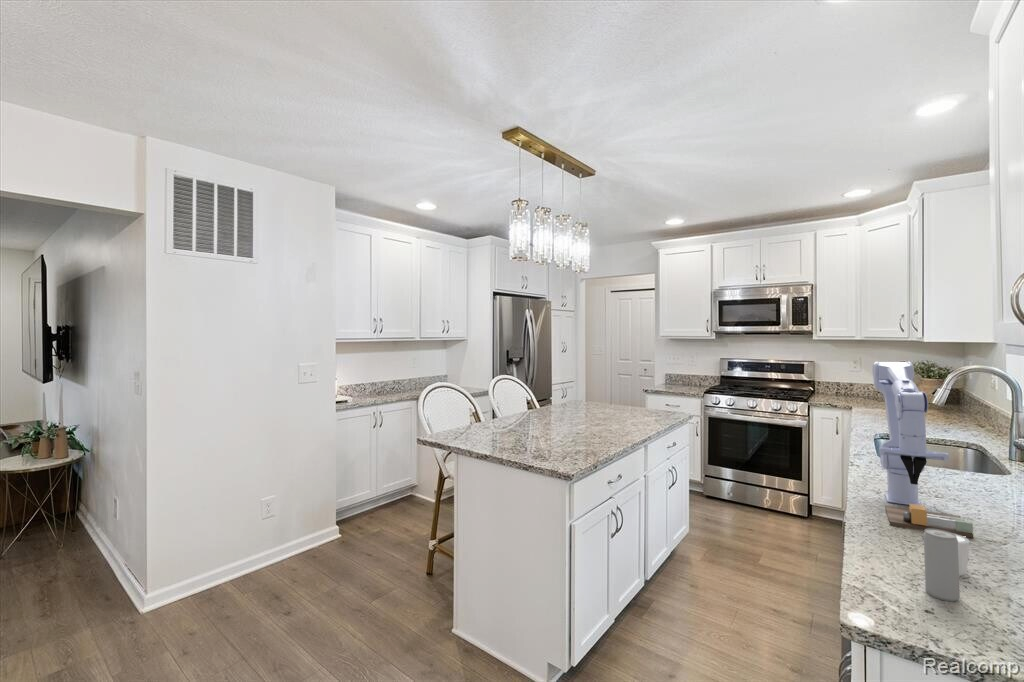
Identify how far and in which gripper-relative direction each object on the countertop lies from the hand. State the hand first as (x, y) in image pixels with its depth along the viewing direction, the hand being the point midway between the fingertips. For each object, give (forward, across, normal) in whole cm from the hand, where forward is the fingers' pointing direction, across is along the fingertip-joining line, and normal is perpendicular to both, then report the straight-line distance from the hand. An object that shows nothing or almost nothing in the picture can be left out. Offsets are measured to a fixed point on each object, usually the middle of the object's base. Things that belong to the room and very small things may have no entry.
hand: (913, 483), depth 128 cm
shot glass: (+9, +2, -35) cm, 36 cm away
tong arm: (+8, +4, -7) cm, 11 cm away
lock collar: (+8, 0, -9) cm, 12 cm away
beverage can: (+9, -1, -50) cm, 51 cm away
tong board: (+9, +2, -4) cm, 10 cm away
